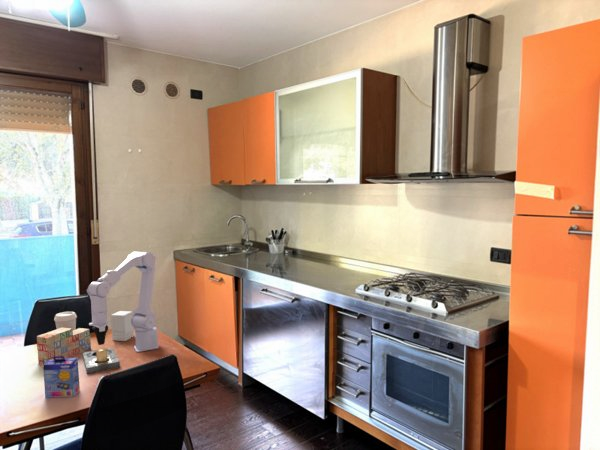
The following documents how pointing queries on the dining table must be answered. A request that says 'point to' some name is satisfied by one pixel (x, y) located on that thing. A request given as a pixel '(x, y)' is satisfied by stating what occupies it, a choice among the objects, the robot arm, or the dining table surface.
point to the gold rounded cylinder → (101, 355)
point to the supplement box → (122, 325)
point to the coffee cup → (66, 320)
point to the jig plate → (93, 366)
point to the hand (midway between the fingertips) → (101, 344)
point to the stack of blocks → (62, 343)
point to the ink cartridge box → (61, 377)
